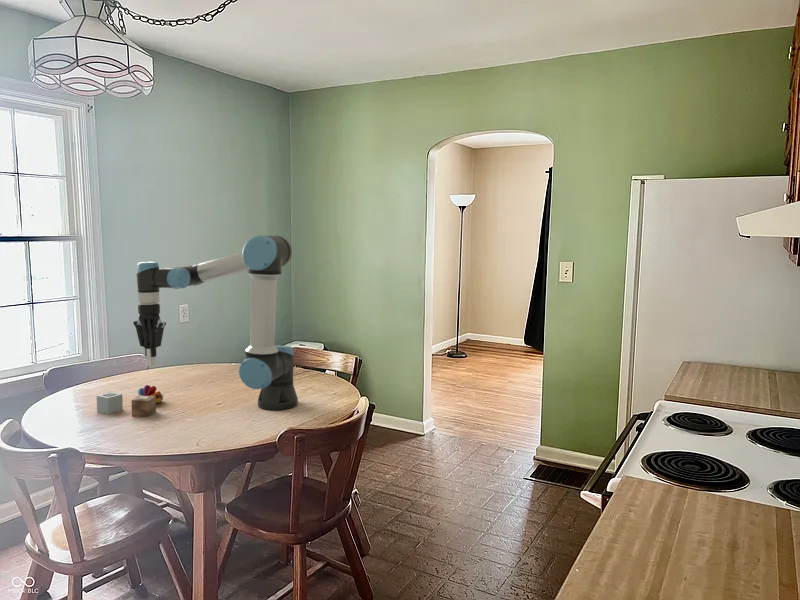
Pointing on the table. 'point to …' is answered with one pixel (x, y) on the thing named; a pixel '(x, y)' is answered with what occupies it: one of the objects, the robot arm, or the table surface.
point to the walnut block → (143, 406)
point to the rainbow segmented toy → (150, 392)
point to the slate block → (109, 403)
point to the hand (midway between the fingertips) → (151, 365)
